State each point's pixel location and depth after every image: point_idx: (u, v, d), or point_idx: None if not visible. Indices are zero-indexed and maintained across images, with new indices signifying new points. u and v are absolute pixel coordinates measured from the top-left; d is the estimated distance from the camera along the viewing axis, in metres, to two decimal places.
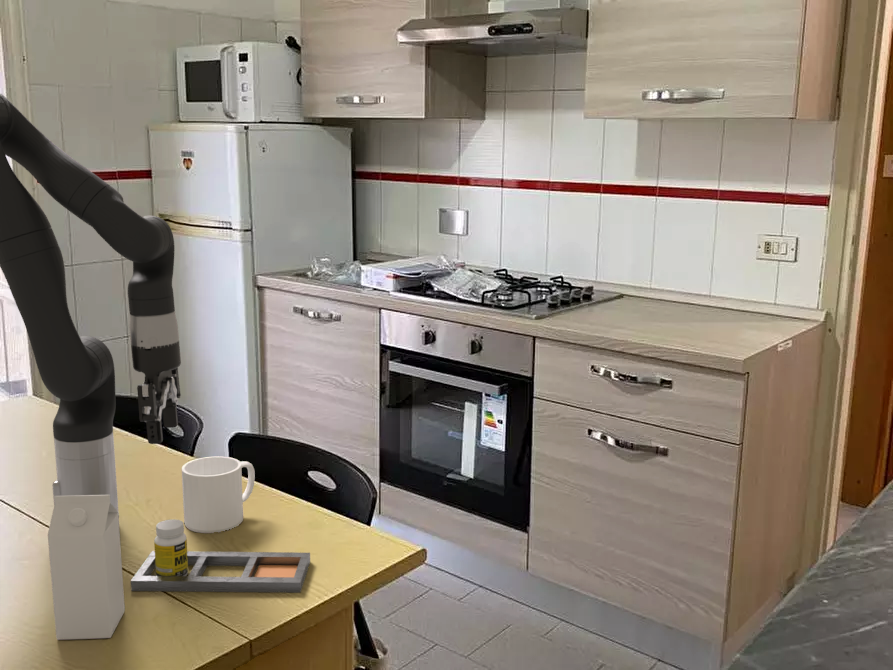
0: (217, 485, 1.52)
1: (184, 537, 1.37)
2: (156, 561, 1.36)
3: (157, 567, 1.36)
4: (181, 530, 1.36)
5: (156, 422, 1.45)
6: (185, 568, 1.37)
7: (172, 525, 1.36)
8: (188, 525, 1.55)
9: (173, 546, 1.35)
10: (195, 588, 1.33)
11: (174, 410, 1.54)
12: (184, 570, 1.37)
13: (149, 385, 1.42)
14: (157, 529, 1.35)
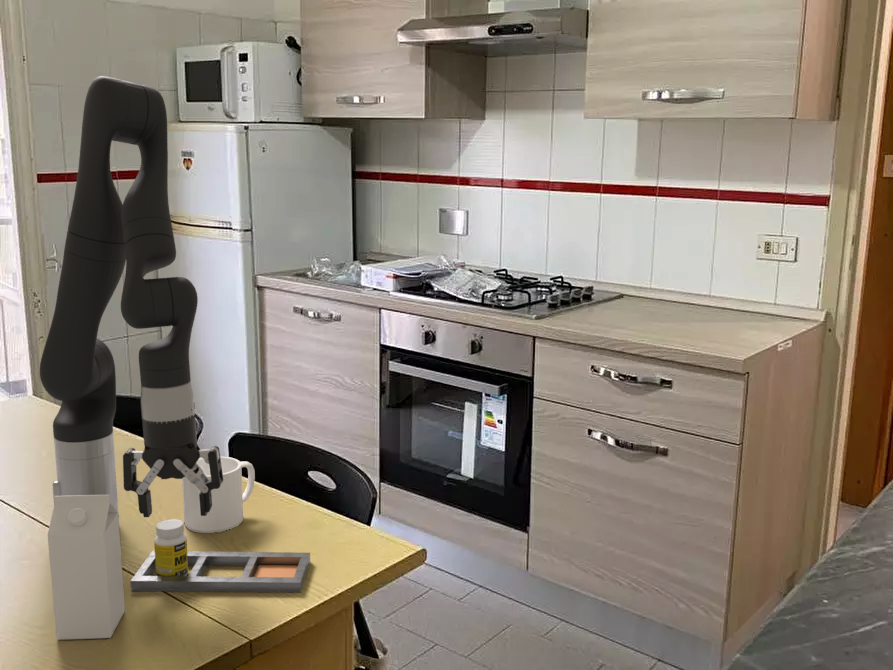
0: None
1: (184, 537, 1.37)
2: (156, 561, 1.36)
3: (157, 567, 1.36)
4: (181, 530, 1.36)
5: None
6: (185, 568, 1.37)
7: (172, 525, 1.36)
8: (188, 525, 1.55)
9: (173, 546, 1.35)
10: (195, 588, 1.33)
11: (150, 494, 1.37)
12: (184, 570, 1.37)
13: (216, 447, 1.36)
14: (157, 529, 1.35)
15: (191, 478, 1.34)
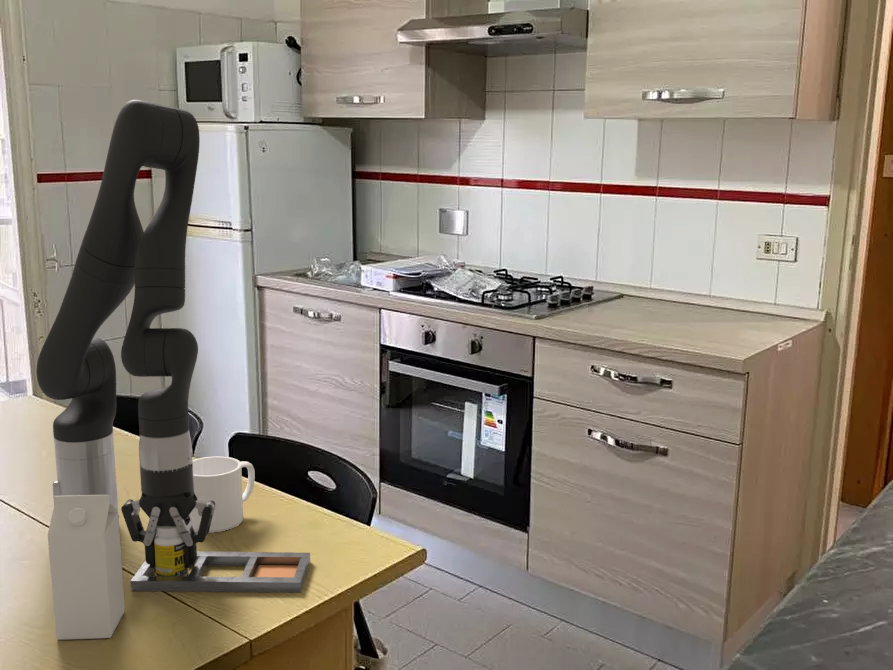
0: (217, 485, 1.52)
1: None
2: (156, 561, 1.36)
3: (157, 567, 1.36)
4: None
5: None
6: None
7: None
8: None
9: (173, 546, 1.35)
10: (195, 588, 1.33)
11: None
12: (184, 570, 1.37)
13: (213, 503, 1.37)
14: (157, 529, 1.35)
15: (181, 529, 1.35)
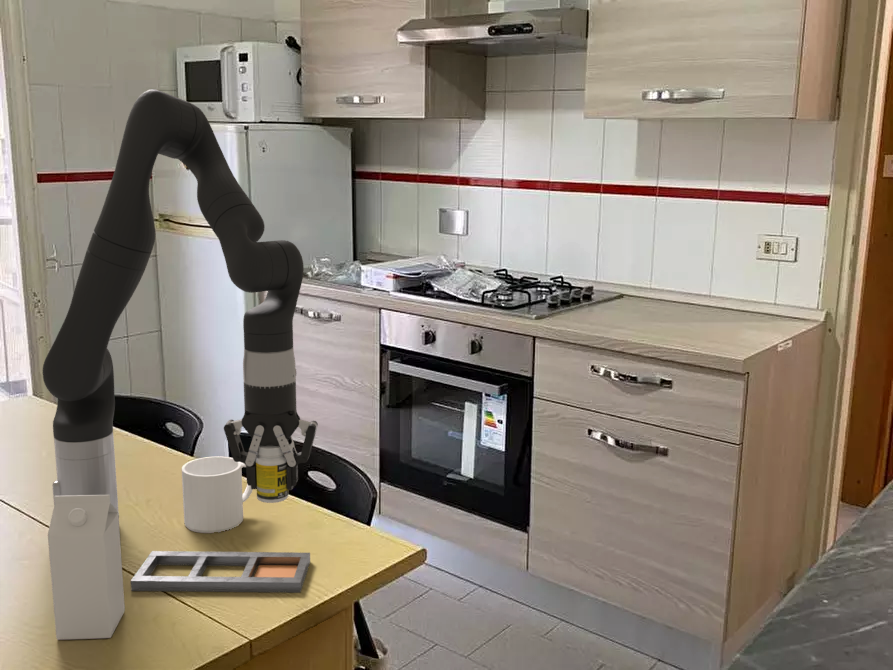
0: (217, 485, 1.52)
1: None
2: (258, 482, 1.34)
3: (259, 488, 1.34)
4: None
5: None
6: (286, 489, 1.35)
7: None
8: (188, 525, 1.55)
9: (277, 466, 1.33)
10: (195, 588, 1.33)
11: None
12: (286, 491, 1.35)
13: (316, 423, 1.34)
14: (260, 449, 1.33)
15: (284, 449, 1.32)
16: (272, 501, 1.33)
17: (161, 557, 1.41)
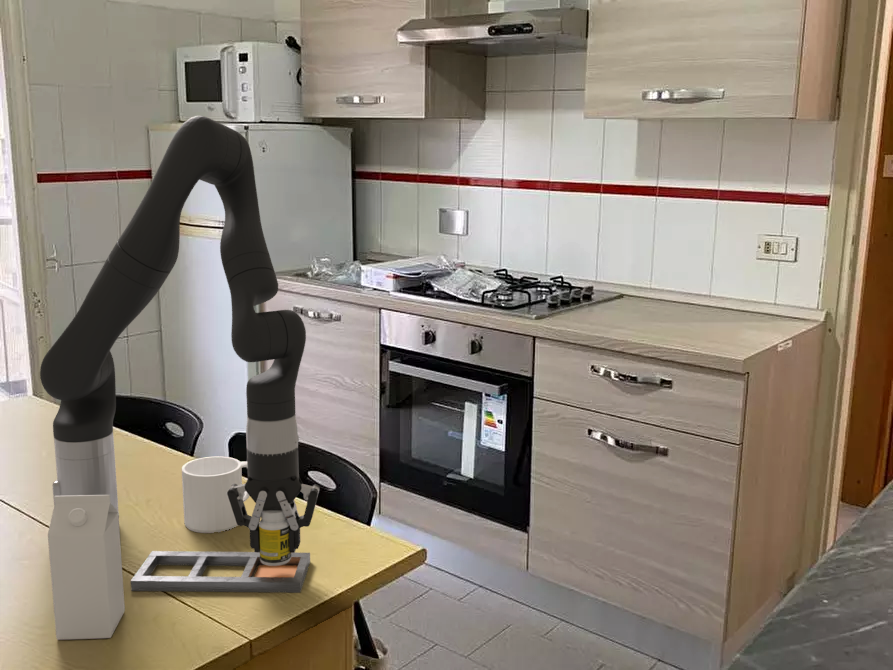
0: (217, 485, 1.52)
1: None
2: (261, 545, 1.36)
3: (262, 551, 1.36)
4: None
5: None
6: (289, 552, 1.37)
7: None
8: (188, 525, 1.55)
9: (279, 530, 1.35)
10: (195, 588, 1.33)
11: None
12: (289, 554, 1.37)
13: (318, 487, 1.36)
14: (263, 513, 1.35)
15: (287, 513, 1.35)
16: (275, 564, 1.36)
17: (161, 557, 1.41)
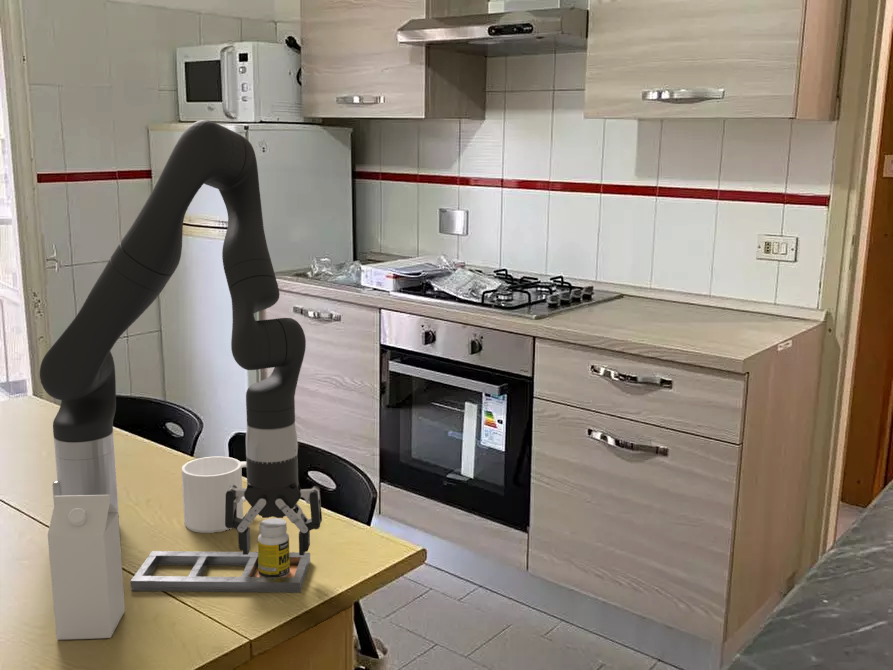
0: (217, 485, 1.52)
1: (287, 536, 1.37)
2: (260, 560, 1.36)
3: (261, 566, 1.36)
4: (285, 529, 1.36)
5: None
6: (288, 566, 1.37)
7: (276, 524, 1.36)
8: (188, 525, 1.55)
9: (278, 545, 1.35)
10: (195, 588, 1.33)
11: (249, 531, 1.38)
12: (287, 569, 1.37)
13: (317, 488, 1.36)
14: (261, 528, 1.35)
15: (292, 518, 1.35)
16: None
17: (161, 557, 1.41)
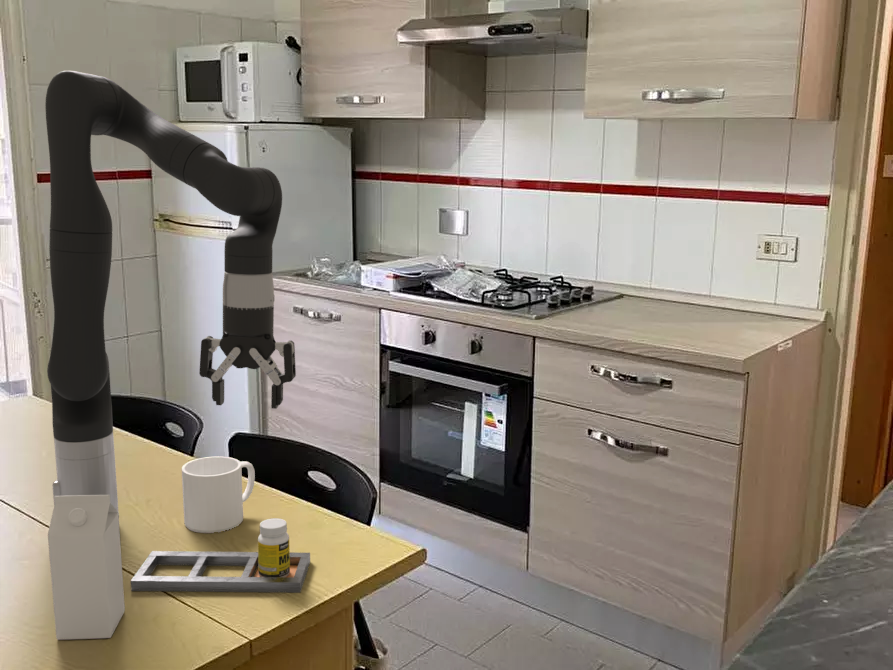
0: (217, 485, 1.52)
1: (287, 536, 1.37)
2: (260, 560, 1.36)
3: (261, 566, 1.36)
4: (285, 529, 1.36)
5: None
6: (288, 566, 1.37)
7: (276, 524, 1.36)
8: (188, 525, 1.55)
9: (278, 545, 1.35)
10: (195, 588, 1.33)
11: None
12: (287, 569, 1.37)
13: (291, 342, 1.37)
14: (261, 528, 1.35)
15: (265, 369, 1.36)
16: None
17: (161, 557, 1.41)
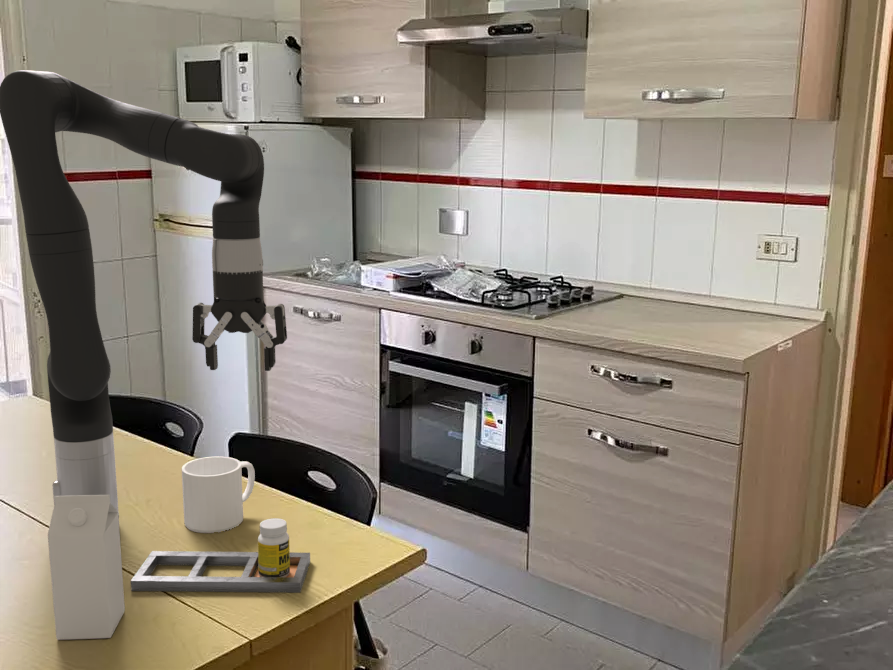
0: (217, 485, 1.52)
1: (287, 536, 1.37)
2: (260, 560, 1.36)
3: (261, 566, 1.36)
4: (285, 529, 1.36)
5: None
6: (288, 566, 1.37)
7: (276, 524, 1.36)
8: (188, 525, 1.55)
9: (278, 545, 1.35)
10: (195, 588, 1.33)
11: (216, 349, 1.42)
12: (287, 569, 1.37)
13: (281, 305, 1.40)
14: (261, 528, 1.35)
15: (257, 332, 1.39)
16: None
17: (161, 557, 1.41)
